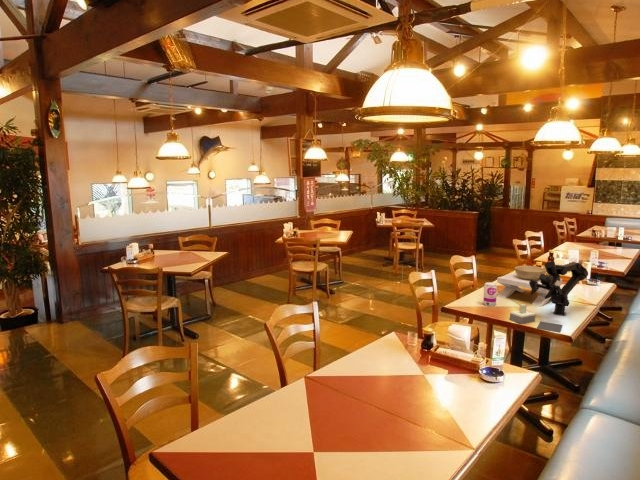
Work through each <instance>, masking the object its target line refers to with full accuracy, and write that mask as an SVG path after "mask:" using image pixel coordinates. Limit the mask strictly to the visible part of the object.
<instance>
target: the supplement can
mask: <svg viewBox="0 0 640 480" xmlns="http://www.w3.org/2000/svg"><path fill="white" fill-rule="evenodd" d="M497 291H498V285H497V282H496V283H495V282H489V281H488V282H485V283H484V285H483V301H482V304H483V305H484V306H486V305H487V306H486V307H495V306H497V295H498V294H497Z"/></svg>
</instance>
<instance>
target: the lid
mask: <svg viewBox="0 0 640 480" xmlns="http://www.w3.org/2000/svg"><path fill="white" fill-rule="evenodd" d="M527 307H528V306H527V304H525V303H522V304H519V310H513V311H510V312H509V315H510V314H513V315H516V316H519V317H521V318H523V317H529V316H534V315H535V316H536V313H533V312H531V311H528V310H527Z"/></svg>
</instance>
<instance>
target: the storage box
mask: <svg viewBox="0 0 640 480" xmlns="http://www.w3.org/2000/svg"><path fill="white" fill-rule="evenodd" d="M509 320H510V321H512V322H515V323H517V324H520V325H524V324H529V323H534V322H535V321H536V314H535V315H534V316H529V317H523V318H521V317H519V316H516V315H513V314H510V313H509Z"/></svg>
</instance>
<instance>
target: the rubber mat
mask: <svg viewBox="0 0 640 480" xmlns="http://www.w3.org/2000/svg"><path fill="white" fill-rule="evenodd" d="M562 328H563V324H558V323H555V322H554V323H553V322H546V321H542V320H541V321H539V323H538V325H537V326H536V329H539V330H543V331H548V332H555V333H561V331H562Z"/></svg>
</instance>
